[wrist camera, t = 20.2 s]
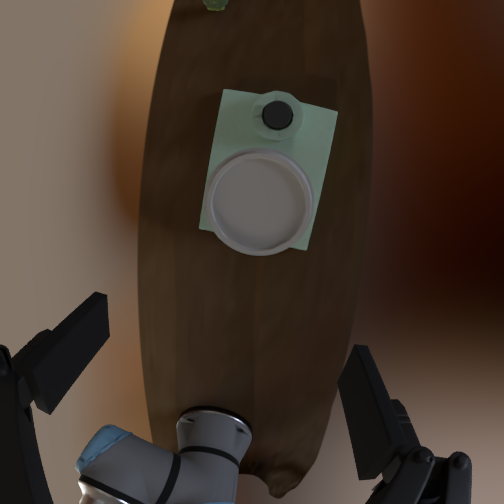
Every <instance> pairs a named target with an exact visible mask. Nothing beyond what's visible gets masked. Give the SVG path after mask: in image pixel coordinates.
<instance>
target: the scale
mask: <svg viewBox="0 0 504 504" xmlns="http://www.w3.org/2000/svg"><path fill="white" fill-rule="evenodd" d="M273 101H281V102H284V103H286V104H287V105H288V106H289V107H290V109H291V113H292V116H291V119H290V121H289V123H288V124H287V125H286V126H284V127H282V128H273V127H271V126H269V125H268V124H267V123H266V121H265V118H264V110H265V108H266V106H267V105H268V104H269V103H271V102H273ZM337 114H338V112H337V111H333V110H330V109H326V108H322V107H318V106H314V105H310V104H305V103H301V102H299V101H298V100H297V99H296V98H294V97H293V96H292V95H291V94H289V93H285V92H280V91H272V92H269V93H266V94H263V95H261V94H255V93H249V92H243V91H236V90H228V89H224V90H223V95H222V99H221V104H220V109H219V114H218V119H217V124H216V129H215V134H214V140H213V145H212V151H211V156H210V162H209V168H208V173H207V179H206V185H205V191H206V186H207V183H208V181H209V179H210V176H211V175H212V173H213V172H214V170H215V169H216V167H217V166H218V165H219V164H220V163H221V162H222V161H224V160H225V159H226V158H227V157H229V156H230V155H232V154H234V153H236V152H238V151H241V150H244V149H248V148H256V147H257V148H269V149H274V150H277V151H280V152H282V153H284V154H286V155H288V156H289V157H291V158H292V159H294V160H295V161H296V162H297V163H298V164H299V165H300V166H301V167H302V168H303V169H304V171H305V172H306V174H307V175H308V177H309V180H310V182H311V184H312V188H313V191H314V200H315V203H314V212H313V216H312V220H311V222H310V224H309V227H308V229H307V230H306V232H305V233H304V234H303V236H302V237H301V238H300V239H299V240H298V241H297V242H296V243H295V244H293V245H292V246H290V247H292V248H297V249H301V250H307V246H308V243H309V239H310V235H311V231H312V227H313V223H314V219H315V215H316V211H317V206H318V202H319V198H320V194H321V189H322V185H323V181H324V176H325V172H326V167H327V163H328V158H329V153H330V149H331V144H332V139H333V134H334V129H335V124H336V119H337ZM204 196H205V192H204ZM199 229H203V230H208V231H213V230H212V228H211V226H210V224H209V222H208V219H207V216H206V212H205V202H204V198H203V204H202V211H201V218H200V224H199ZM213 232H214V231H213Z"/></svg>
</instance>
